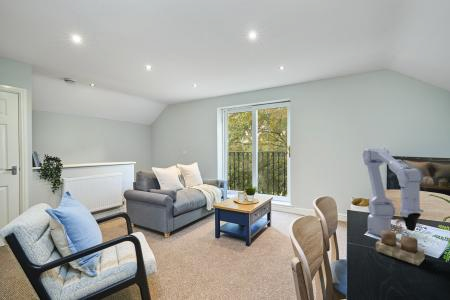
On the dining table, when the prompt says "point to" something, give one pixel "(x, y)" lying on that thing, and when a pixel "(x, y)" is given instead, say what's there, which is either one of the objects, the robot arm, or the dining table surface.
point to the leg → (409, 244)
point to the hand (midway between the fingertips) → (410, 230)
